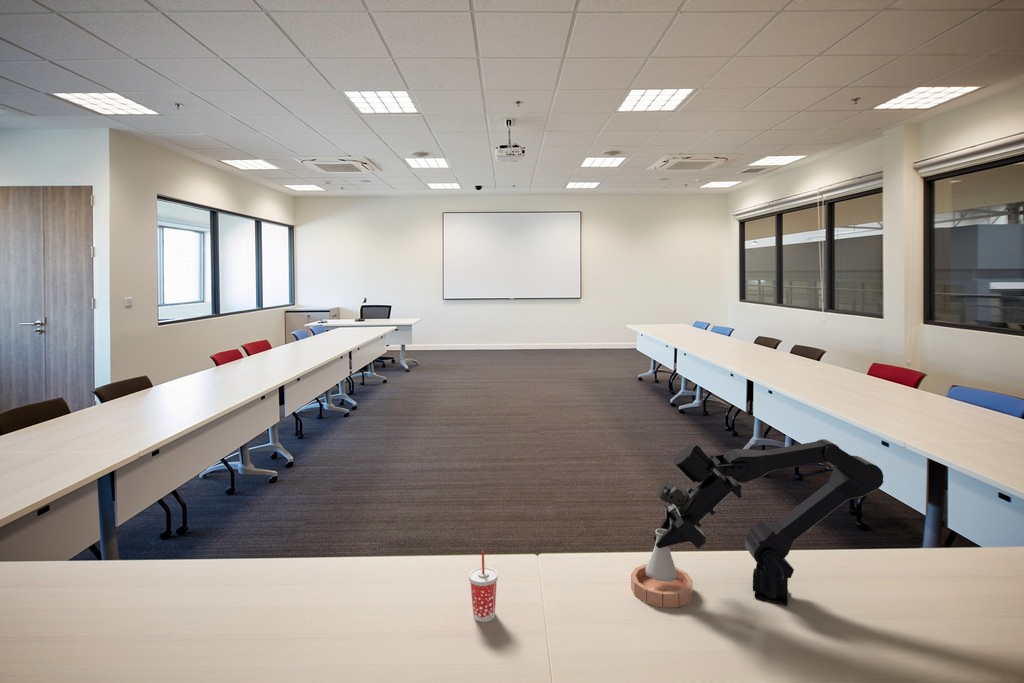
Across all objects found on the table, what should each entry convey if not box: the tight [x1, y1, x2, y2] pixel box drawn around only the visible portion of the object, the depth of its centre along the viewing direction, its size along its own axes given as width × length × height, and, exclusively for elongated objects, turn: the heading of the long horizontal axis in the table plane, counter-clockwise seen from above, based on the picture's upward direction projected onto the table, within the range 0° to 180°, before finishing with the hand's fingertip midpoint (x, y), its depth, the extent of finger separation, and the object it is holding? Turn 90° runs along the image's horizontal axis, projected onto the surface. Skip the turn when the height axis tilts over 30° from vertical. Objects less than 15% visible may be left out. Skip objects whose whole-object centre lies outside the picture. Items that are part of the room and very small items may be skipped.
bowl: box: [630, 563, 694, 609], centre depth 120 cm, size 13×13×3 cm
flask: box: [645, 528, 677, 582], centre depth 119 cm, size 7×7×10 cm
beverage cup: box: [468, 550, 499, 623], centre depth 111 cm, size 6×6×14 cm
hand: (656, 543), depth 119 cm, fingers closed on flask, 3 cm apart
